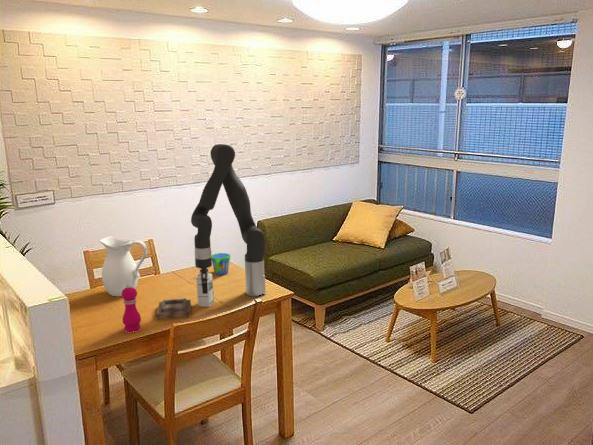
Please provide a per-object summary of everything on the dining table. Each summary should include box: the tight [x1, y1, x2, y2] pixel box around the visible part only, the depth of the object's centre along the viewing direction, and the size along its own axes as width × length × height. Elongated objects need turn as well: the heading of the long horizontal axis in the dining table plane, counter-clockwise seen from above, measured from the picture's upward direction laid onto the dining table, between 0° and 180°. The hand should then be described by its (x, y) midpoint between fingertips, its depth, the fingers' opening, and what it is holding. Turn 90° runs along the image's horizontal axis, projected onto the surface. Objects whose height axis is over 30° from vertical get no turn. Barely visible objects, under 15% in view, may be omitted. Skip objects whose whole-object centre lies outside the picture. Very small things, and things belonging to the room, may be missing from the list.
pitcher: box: [98, 235, 148, 297], centre depth 240 cm, size 24×17×28 cm
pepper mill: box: [121, 284, 142, 333], centre depth 201 cm, size 7×7×20 cm
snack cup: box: [212, 252, 231, 276], centre depth 270 cm, size 16×10×10 cm
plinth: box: [156, 298, 192, 321], centre depth 220 cm, size 14×14×4 cm
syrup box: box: [195, 272, 215, 308], centre depth 227 cm, size 6×6×14 cm
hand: (205, 290), depth 227 cm, fingers closed on syrup box, 7 cm apart
